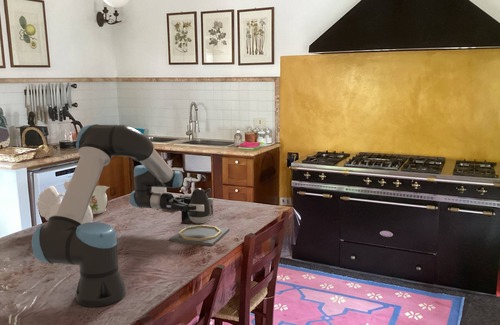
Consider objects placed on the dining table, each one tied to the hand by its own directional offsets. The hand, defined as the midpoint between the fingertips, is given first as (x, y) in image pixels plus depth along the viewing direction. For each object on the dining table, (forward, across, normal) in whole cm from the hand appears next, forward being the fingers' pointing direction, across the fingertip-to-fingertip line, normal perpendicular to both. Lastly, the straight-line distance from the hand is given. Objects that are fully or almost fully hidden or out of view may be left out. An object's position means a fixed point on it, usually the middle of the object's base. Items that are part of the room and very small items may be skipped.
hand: (208, 204), depth 196 cm
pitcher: (-72, -17, -15) cm, 76 cm away
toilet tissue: (-54, -49, -15) cm, 75 cm away
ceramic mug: (-36, -36, -15) cm, 53 cm away
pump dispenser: (-4, 0, -8) cm, 9 cm away
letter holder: (-16, -23, -15) cm, 32 cm away
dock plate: (-4, 0, -14) cm, 15 cm away
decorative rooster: (-66, +11, -15) cm, 69 cm away
